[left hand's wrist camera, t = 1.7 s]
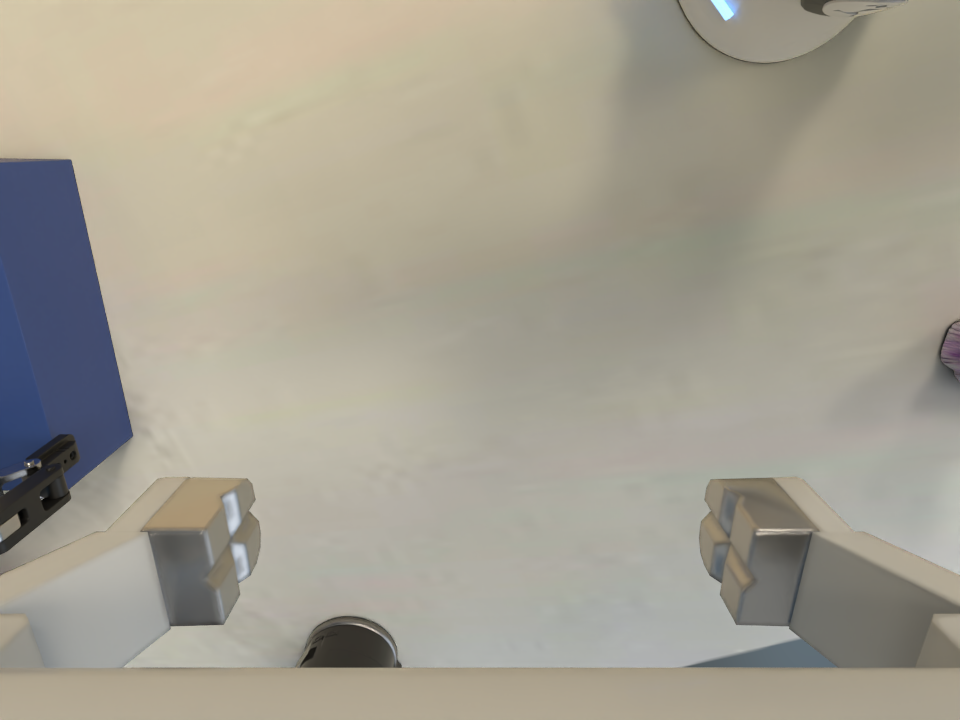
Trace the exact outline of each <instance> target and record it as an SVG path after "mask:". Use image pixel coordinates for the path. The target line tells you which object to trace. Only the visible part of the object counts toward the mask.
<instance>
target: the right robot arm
mask: <svg viewBox="0 0 960 720" xmlns="http://www.w3.org/2000/svg"><path fill="white" fill-rule="evenodd" d="M79 460H80V455H79V451H78V447H77V444H76V441H75V438H74V436H73V435H72V434H59V435H58V436H56V437H55V438H54V439H52V440H51V441H49V442H48V443H47V444H45V445H44V446H42V447H41V448H40V449H38V450H37V451H35V452H34V453H33V454H31V455H30V456H28V457H27V458H26V461H23V462H20V463H17V464H14V465H11V466H8V467H5V468H3V469H0V554H3V553H5V552H7V551H8V550H9V549H11V548H12V547H13V546H14V545H16V544H17V543H18V542H19V541H21V540H22V539H23V538H24V537H25V536H27V535H28V534H29V533H30V532H32V531H33V530H34V529H35V528H36V527H38V526H39V525H40V524H41V523H43V522H44V521H45V520H46V519H48V518H49V517H50V516H51V515H52V514H54V513H55V512H56V511H57V510H59V509H60V508H61V507H62V506H63V505H65V504H66V503H67V502H68V501H70V499H71V495H70V491H69V490H68V487H67V484H66V480H65V477H64V473H65V472H66V471H68V470H69V469H70V468H71V467H73V466H74V465H75V464H76V463H78V462H79ZM18 478H22V481H23V482H21V483H20V484H19V485H17V486H16V487H14V488H13V489H11V490H10V491H9V492H7V493H6V494H3V491H2V486H3V485H4V484H5V483H7V482H10V481H13V480H15V479H18ZM42 498H44V499H43V500H41V499H42ZM299 665H300V667H299ZM298 667H299V668H401V667H402V665H401V664H400V663H399V662H398V661H397V648H396V645H395V643H394V641H393V639H392V637H391V636H390V635H389V634H388V633H387V632H386V631H385V630H384V629H383V628H381V627H380V626H378V625H377V624H375V623H373V622H370V621H368V620H364V619H360V618H354V617H342V618H336V619H332V620H329V621H327V622H324V623H323V624H321V625H319V626H318V627H317V628H316V629H315V630H314V631H313V632H312V633H311V635H310V637H309V639H308V642H307V644H306V647H305V652H304V654H303V655H302V657H301V658H300V659H299V661H298V662H297V664H296V667H295V668H298Z"/></svg>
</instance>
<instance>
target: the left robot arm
mask: <svg viewBox="0 0 960 720" xmlns="http://www.w3.org/2000/svg"><path fill="white" fill-rule="evenodd" d="M907 1H908V0H679V3H680V5H681V7H682V9H683V11H684V13H685V15H686V17H687V19H688V20H689V22H690V23H691V25H692V26H693V27H694V29H695V30H696V31H697V32H698V33H699V35H700V36H701V37H702V38H703V39H704V40H706V41H707V42H708V43H709V44H710V45H712V46H713V47H714V48H716V49H717V50H719V51H721V52H722V53H724V54H726V55H729V56H731V57H733V58H737V59H740V60H744V61H748V62H756V63H771V62H780V61H785V60H789V59H793V58H796V57H799V56H801V55H804V54H806V53H809V52H811V51H812V50H814V49H816V48H818V47H820V46H821V45H823V44H825V43H826V42H828V41H829V40H831V39H832V38H833V37H834V36H836V35H837V34H838V33H839V32H840V31H842V30H843V29H844V28H845V27H846V26H847V25H848V24H849V23H850V22H851V21H852V20H853V19H854V18H855V17H857V16H863V15H868V14H872V13H876V12H880V11H883V10H887V9H890V8H893V7H897V6H900V5H903V4H905V3H907ZM254 501H255V495H254V490H253V485H252V483H251V482H250V481H249V480H248V479H247V478H198V477H193V478H190V477H165V478H160V479H157V480H156V481H155V482H154V483H153V484H152V485H151V486H150V487H149V488H148V489H147V490H146V491H145V492H144V493H143V494H142V495H141V496H140V497H139V498H138V499H137V500H136V501H135V502H134V503H133V504H132V505H131V506H130V507H129V508H128V509H127V510H126V511H125V512H124V513H123V514H122V515H121V516H120V517H119V518H118V519H117V520H116V521H115V523H114V524H113V525H112V526H111V527H110V528H109V529H108V530H107V531H106V532H94V533H92V534H90V535H88V536H85V537H83V538H81V539H79V540H77V541H74V542H72V543H70V544H68V545H66V546H63V547H61V548H59V549H57V550H55V551H52V552H50V553H48V554H46V555H44V556H41V557H39V558H37V559H35V560H33V561H30V562H28V563H26V564H24V565H22V566H19V567H17V568H15V569H13V570H10V571H8V572H6V573H4V574H2V575H0V720H960V575H958V574H956V573H954V572H951V571H949V570H947V569H945V568H943V567H940V566H938V565H936V564H934V563H932V562H929V561H927V560H925V559H923V558H921V557H918V556H916V555H914V554H912V553H910V552H907V551H905V550H903V549H901V548H899V547H896V546H894V545H892V544H890V543H888V542H885V541H883V540H881V539H879V538H877V537H874V536H872V535H870V534H868V533H866V532H854V531H853V530H852V529H851V528H850V527H849V526H848V525H847V523H846V522H845V521H844V520H843V519H842V518H841V517H840V516H839V515H838V514H837V513H836V512H835V511H834V510H833V509H832V508H831V507H830V506H829V505H828V504H827V503H826V502H825V501H824V500H823V499H822V498H821V497H820V496H819V495H818V494H817V493H816V492H815V491H814V490H813V489H812V488H811V487H810V486H809V485H808V484H807V483H806V482H805V481H804V480H803V479H800V478H798V477H777V478H746V479H711V480H710V482H709V484H708V486H707V488H706V494H705V502H706V503H707V505H708V506H709V508H710V510H711V512H710V513H709V514H708V515H707V516H706V517H705V518H704V519H703V520H702V521H701V526H700V534H699V542H700V552H701V556H702V559H703V563H704V565H705V567H706V569H707V571H708V573H709V575H710V576H711V577H713V578H714V579H716V580H717V581H719V582H720V583H722V585H721V590H720V596H721V598H722V599H723V601H724V603H725V605H726V607H727V609H728V610H729V612H730V614H731V616H732V618H733V619H734V621H735V623H736V625H764V626H790V627H789V629H790V630H792V631H793V632H794V633H795V634H797V635H798V636H799V637H800V638H802V639H803V640H804V641H805V642H807V643H808V644H809V645H810V646H812V647H813V648H814V649H815V650H817V651H818V652H819V653H820V654H822V655H823V656H824V657H825V658H827V659H828V660H829V661H831V662H832V663H833V664H834V665H836V666H837V667H838V668H122V667H123V666H125V665H126V664H127V663H128V662H130V661H131V660H132V659H133V658H135V657H136V656H137V655H138V654H140V653H141V652H142V651H144V650H145V649H146V648H147V647H149V646H150V645H151V644H152V643H154V642H155V641H156V640H157V639H159V638H160V637H161V636H162V635H164V634H165V633H166V632H167V631H169V630H170V629H171V627H170V626H196V625H224V623H225V621H226V620H227V618H228V616H229V614H230V612H231V610H232V609H233V607H234V605H235V603H236V601H237V599H238V598H239V596H240V591H239V585H238V583H240V582H241V581H243V580H244V579H246V578H247V577H249V576H250V575H251V573H252V571H253V569H254V567H255V565H256V563H257V559H258V555H259V551H260V540H261V533H260V526H259V521H258V520H257V519H256V518H255V517H254V516H253V515H252V514H251V513H250V512H249V510H250V508H251V506H252V505H253V503H254Z"/></svg>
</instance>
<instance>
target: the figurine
mask: <svg viewBox="0 0 960 720" xmlns="http://www.w3.org/2000/svg"><path fill="white" fill-rule="evenodd" d="M947 334H948V335H946V338H945V341H944V344H943V347H942V350H941V353H942V354H941V361H942V362H943V364H945V365H946V366H948V367H949V368H951V369H953V370H954V375H955V377H956V378H957V379H958V380H959V381H960V321H959V322H957V323H954V324H953V325H952V327H951V328H950V329H949V332H947Z"/></svg>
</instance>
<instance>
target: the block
mask: <svg viewBox="0 0 960 720" xmlns="http://www.w3.org/2000/svg"><path fill="white" fill-rule="evenodd" d="M59 434H72V435H73V436H74V438H75V441H76V444H77V447H78V451H79V455H80V460H79V462H78V463H76V464H75V465H74V466H73V467H71V468H70V469H69V470H68V471H66V472H65V473H64V477H65V480H66V484H67V487H68V490H69V489H70V488H71V487H72V486H73V485H75V484H76V483H77V482H78V481H79V480H81V479H82V478H83V477H84V476H85V475H87V474H88V473H89V472H90V471H91V470H93V469H94V468H95V467H96V466H97V465H99V464H100V463H101V462H102V461H103V460H105V459H106V458H107V457H108V456H110V455H111V454H112V453H113V452H114V451H116V450H117V449H118V448H119V447H120V446H122V445H123V444H124V443H125V442H126V441H128V440H129V439H130V438H131V437H132V436H133V434H132V430H131V425H130V421H129V416H128V412H127V407H126V403H125V399H124V394H123V390H122V385H121V381H120V376H119V372H118V367H117V363H116V358H115V354H114V349H113V345H112V341H111V336H110V332H109V327H108V323H107V318H106V314H105V309H104V305H103V300H102V296H101V291H100V287H99V283H98V278H97V274H96V269H95V265H94V260H93V256H92V251H91V247H90V242H89V238H88V233H87V229H86V225H85V220H84V216H83V211H82V207H81V202H80V198H79V193H78V189H77V184H76V180H75V175H74V171H73V167H72V162H71V160H61V159H0V469H3V468H5V467H8V466H11V465H14V464H17V463H20V462H23V461H26V458H27V457H28V456H30V455H31V454H33V453H34V452H35V451H37V450H38V449H40V448H41V447H42V446H44V445H45V444H47V443H48V442H49V441H51V440H52V439H54V438H55V437H56V436H58V435H59ZM21 482H23V481H22V478H18V479H15V480H13V481H10V482H7V483H5V484H4V485H3V486H2V490H11V489H13V488H14V487H16V486H17V485H19V484H20V483H21Z"/></svg>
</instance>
